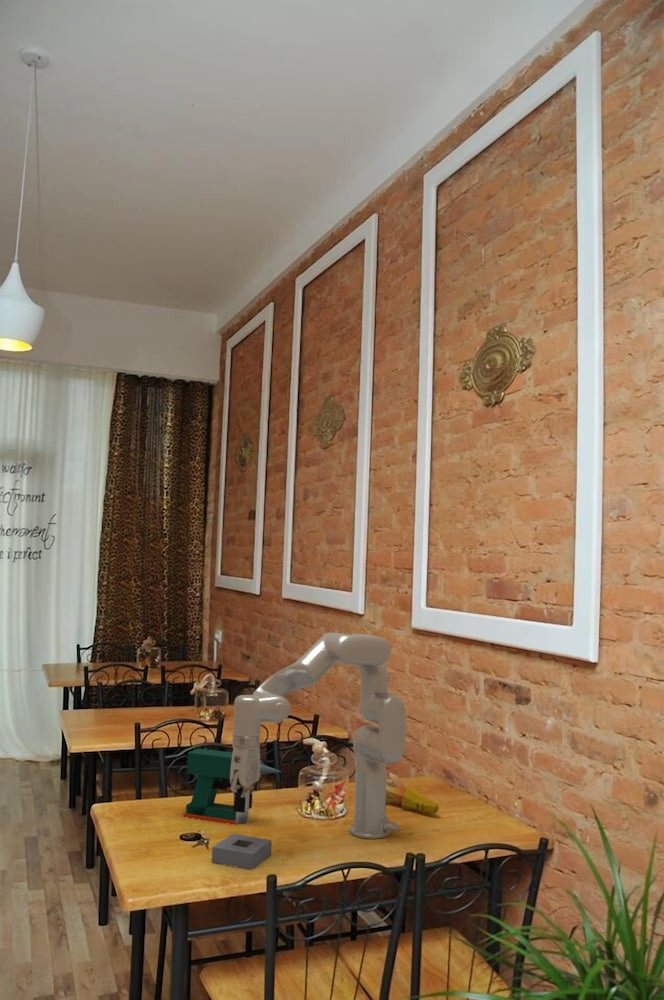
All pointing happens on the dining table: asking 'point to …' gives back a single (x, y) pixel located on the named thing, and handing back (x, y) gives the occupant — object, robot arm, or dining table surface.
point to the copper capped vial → (243, 817)
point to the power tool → (212, 785)
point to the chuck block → (241, 851)
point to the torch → (408, 797)
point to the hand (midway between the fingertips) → (242, 809)
